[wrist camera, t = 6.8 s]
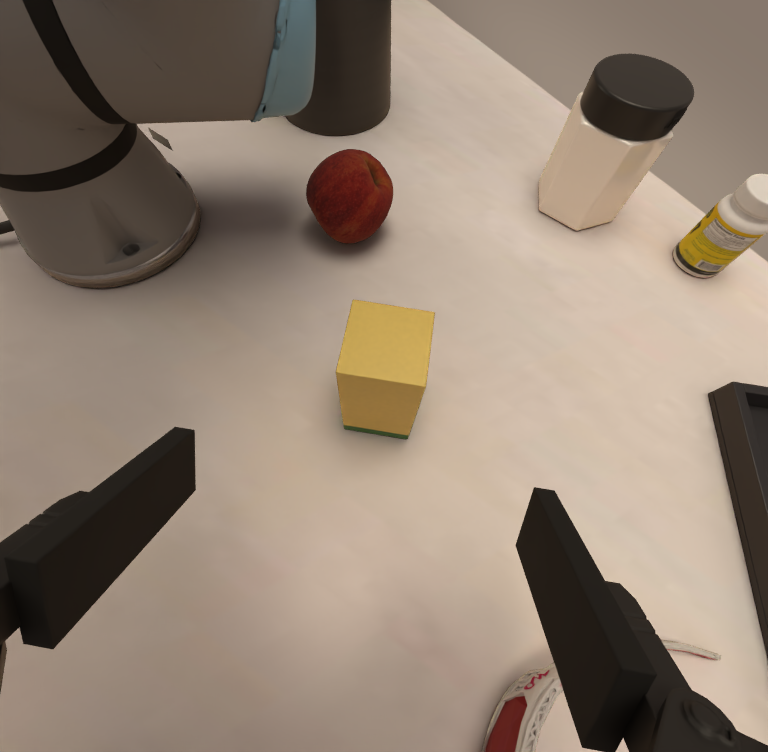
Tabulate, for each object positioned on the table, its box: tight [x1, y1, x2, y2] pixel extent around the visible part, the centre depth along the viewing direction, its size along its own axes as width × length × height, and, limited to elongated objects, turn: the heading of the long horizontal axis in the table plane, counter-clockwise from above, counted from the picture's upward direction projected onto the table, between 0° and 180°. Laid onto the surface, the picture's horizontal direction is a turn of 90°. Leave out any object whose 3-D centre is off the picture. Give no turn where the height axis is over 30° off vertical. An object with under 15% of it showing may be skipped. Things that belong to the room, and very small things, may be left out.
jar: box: [539, 54, 694, 231], centre depth 37 cm, size 9×8×12 cm
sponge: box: [336, 300, 435, 439], centre depth 27 cm, size 5×5×10 cm
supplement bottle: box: [673, 174, 768, 278], centre depth 36 cm, size 5×5×8 cm
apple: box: [306, 149, 393, 243], centre depth 36 cm, size 7×8×8 cm
